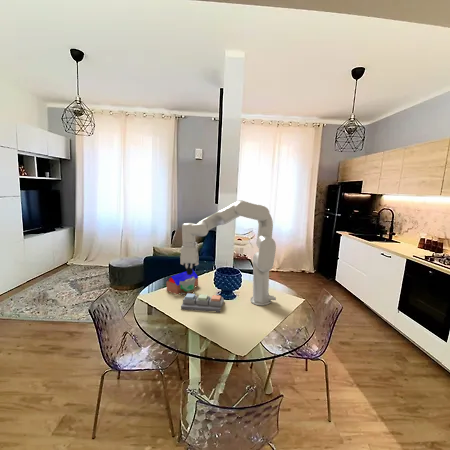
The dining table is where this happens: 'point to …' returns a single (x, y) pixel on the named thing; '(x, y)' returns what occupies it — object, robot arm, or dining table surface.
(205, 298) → the button sage
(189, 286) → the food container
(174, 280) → the house
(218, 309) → the button panel
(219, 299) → the button terracotta
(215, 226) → the robot arm
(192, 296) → the button slate
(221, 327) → the dining table surface
